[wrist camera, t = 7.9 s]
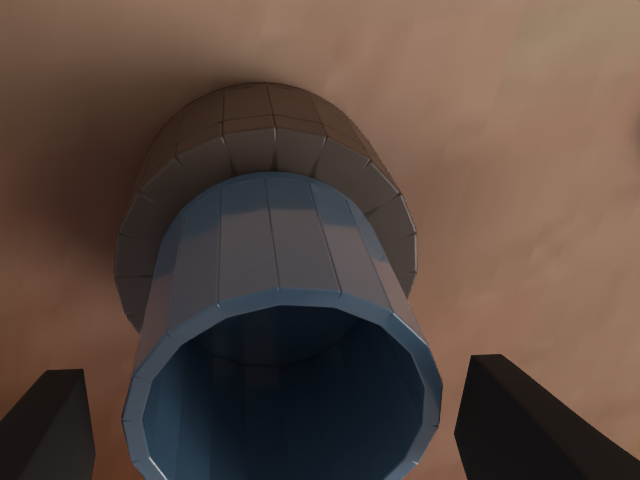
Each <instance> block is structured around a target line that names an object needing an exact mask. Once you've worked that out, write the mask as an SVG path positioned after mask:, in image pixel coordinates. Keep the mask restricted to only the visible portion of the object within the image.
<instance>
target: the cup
mask: <svg viewBox="0 0 640 480" xmlns="http://www.w3.org/2000/svg"><path fill="white" fill-rule="evenodd" d="M442 390H443V384H442V379H441V377H440V374H439V371H438V369H437V366H436V363H435V361H434V358H433V356H432V353H431V350H430V348H429V345H428V343H427V341H426V339H425V337H424V335H423V332H422V330H421V328H420V326H419V324H418V322H417V320H416V318H415V315H414V313H413V311H412V309H411V307H410V305H409V303H408V301H407V299H406V296H405V294H404V292H403V290H402V288H401V286H400V284H399V282H398V279H397V277H396V275H395V273H394V271H393V269H392V267H391V265H390V262H389V260H388V258H387V256H386V254H385V252H384V250H383V248H382V246H381V243H380V241H379V239H378V237H377V235H376V233H375V231H374V229H373V227H372V225H371V224H370V223H369V221H368V220H367V218H366V217H365V215H364V214H363V213H362V211H361V210H360V209H359V208H358V207H357V205H356V204H355V203H354V202H352V201H351V200H350V199H349V198H348V197H347V196H346V195H344V194H343V193H341V192H340V191H338V190H337V189H335V188H334V187H332V186H330V185H328V184H326V183H324V182H322V181H320V180H317V179H314V178H311V177H308V176H305V175H300V174H295V173H290V172H277V171H269V172H256V173H250V174H244V175H240V176H237V177H233V178H230V179H227V180H225V181H222V182H220V183H218V184H216V185H213V186H211V187H210V188H208V189H207V190H205V191H203V192H202V193H200V194H199V195H197V196H196V197H195V198H194V199H192V200H191V201H190V202H189V203H187V204H186V205H185V207H184V208H183V209H182V210H181V211H180V212H179V213H178V214H177V215H176V217H175V218H174V219H173V221H172V222H171V224H170V225H169V227H168V229H167V231H166V233H165V235H164V237H163V239H162V241H161V244H160V247H159V251H158V255H157V259H156V263H155V268H154V272H153V276H152V280H151V285H150V289H149V294H148V298H147V303H146V307H145V312H144V316H143V321H142V325H141V330H140V335H139V339H138V344H137V348H136V353H135V357H134V362H133V366H132V371H131V375H130V380H129V385H128V389H127V394H126V398H125V403H124V407H123V412H122V416H121V418H122V420H121V421H122V426H123V430H124V434H125V438H126V442H127V447H128V451H129V455H130V459H131V461H132V463H133V465H134V466H135V467H136V468H137V469H138V471H139V472H140V473H141V474H142V476H143V477H144V478H145V479H146V480H401V479H402V478H403V477H404V476H406V475H407V474H408V473H409V472H410V471H411V470H412V469H413V468H414V467H415V466H416V465H417V464H418V462H420V460H421V458H422V456H423V454H424V453H425V451H426V449H427V447H428V445H429V443H430V441H431V440H432V438H433V436H434V434H435V432H436V430H437V429H438V425H439V422H440V411H441V400H442Z"/></svg>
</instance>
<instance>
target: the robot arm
mask: <svg viewBox="0 0 640 480" xmlns="http://www.w3.org/2000/svg"><path fill="white" fill-rule="evenodd" d="M454 436H455V439H456V443H457V446H458V450H459V453H460V457H461V460H462V464H463V467H464V470H465V473H466V476H467V479H468V480H640V461H639V460H638V459H636V458H635V457H633V456H632V455H631V454H629V453H628V452H626V451H625V450H624V449H622V448H621V447H619V446H618V445H617V444H615V443H614V442H612V441H611V440H610V439H608V438H607V437H606V436H604V435H603V434H602V433H600V432H599V431H598V430H596V429H595V428H594V427H593V426H591V425H590V424H589V423H587V422H586V421H585V420H583V419H582V418H581V417H580V416H578V415H577V414H576V413H575V412H573V411H572V410H571V409H569V408H568V407H567V406H566V405H564V404H563V403H562V402H561V401H559V400H558V399H557V398H556V397H554V396H553V395H552V394H551V393H550V392H548V391H547V390H546V389H545V388H543V387H542V386H541V385H540V384H538V383H537V382H536V381H535V380H534V379H532V378H531V377H530V376H529V375H527V374H526V373H525V372H524V371H522V370H521V369H520V368H519V367H517V366H516V365H515V364H513V363H512V362H511V361H510V360H508V359H507V358H506V357H504V356H503V355H501V354H491V355H471V359H470V363H469V368H468V372H467V377H466V381H465V386H464V390H463V395H462V399H461V404H460V408H459V413H458V417H457V422H456V426H455V431H454ZM95 454H96V453H95V446H94V439H93V432H92V426H91V419H90V412H89V405H88V398H87V392H86V385H85V378H84V371H83V369H68V370H47V371H46V372H45V373H43V374H42V375H41V376H40V377H39V379H38V380H37V381H36V382H35V383H34V384H33V385H32V386H31V387H30V389H29V390H28V391H27V392H26V393H25V394H24V395H23V397H22V398H21V399H20V400H19V401H18V402H17V403H16V404H15V406H14V407H13V408H12V409H11V410H10V411H9V412H8V413H7V414H6V416H5V417H4V418H3V419H2V420H1V421H0V480H91V479H92V473H93V467H94V461H95Z"/></svg>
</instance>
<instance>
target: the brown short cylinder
mask: <svg viewBox="0 0 640 480" xmlns="http://www.w3.org/2000/svg"><path fill="white" fill-rule="evenodd" d="M269 171H277V172H290V173H295V174H300V175H305V176H308V177H311V178H314V179H317V180H320V181H322V182H324V183H326V184H328V185H330V186H332V187H334V188H335V189H337V190H338V191H340V192H341V193H343V194H344V195H346V196H347V197H348V198H349V199H350V200H351V201H352V202H354V203H355V204H356V205H357V207H358V208H359V209H360V210H361V211H362V213H363V214H364V215H365V217H366V218H367V220H368V221H369V223H370V224H371V225H372V227H373V229H374V231H375V233H376V235H377V237H378V239H379V241H380V243H381V246H382V248H383V250H384V252H385V254H386V256H387V258H388V260H389V262H390V265H391V267H392V269H393V271H394V273H395V275H396V277H397V279H398V282H399V284H400V286H401V288H402V290H403V292H404V294H405V296H406V299H407V301H408V299H409V296H410V293H411V290H412V287H413V284H414V281H415V278H416V275H417V272H416V271H417V233H416V227H415V225H414V222H413V220H412V217H411V215H410V212H409V210H408V207H407V205H406V202H405V200H404V197H403V194H402V193H401V191H400V190H399V188H398V187H397V185H396V183H395V182H394V180H393V179H392V177H391V175H390V174H389V172H388V171H387V169H386V168H385V166H384V164H383V163H382V161H381V160H380V158H379V157H378V155H377V153H376V152H375V150H374V149H373V147H372V146H371V144H370V142H369V141H368V140H367V139H366V137H365V136H364V135H363V134H362V133H361V132H360V130H359V129H358V128H357V126H356V125H355V124H354V123H353V122H352V121H351V120H350V119H349V118H348V117H347V116H346V115H345V114H344V113H343V112H342V111H341V110H339V109H338V108H336V107H335V106H334V105H332V104H331V103H330V102H328V101H326V100H324V99H322V98H321V97H319V96H317V95H315V94H312V93H310V92H307V91H304V90H302V89H299V88H295V87H291V86H286V85H281V84H271V83H248V84H242V85H236V86H230V87H227V88H224V89H221V90H217V91H214V92H212V93H210V94H208V95H205V96H203V97H201V98H199V99H197V100H196V101H194V102H192V103H191V104H189V105H188V106H186V107H185V108H183V109H182V110H181V111H180V112H179V113H177V114H176V115H175V116H174V117H173V118H172V119H171V120H170V121H169V122H168V123H167V124H166V125H165V126H164V128H163V129H162V130H161V131H160V133H159V134H158V136H157V137H156V139H155V140H154V142H153V143H152V145H151V147H150V149H149V151H148V153H147V156H146V158H145V160H144V162H143V164H142V166H141V169H140V171H139V173H138V176H137V179H136V181H135V184H134V187H133V189H132V192H131V195H130V198H129V200H128V203H127V206H126V209H125V211H124V214H123V217H122V220H121V223H120V225H119V228H118V232H117V236H116V248H115V260H114V275H115V276H114V279H115V283H116V286H117V289H118V293H119V296H120V299H121V303H122V306H123V309H124V313H125V314H126V315H127V318H128V320H129V321H130V322H131V324H132V325H133V326H134V328H135V329H136V330H137V332H138V333H139V334H140V330H141V325H142V321H143V316H144V312H145V307H146V303H147V298H148V294H149V289H150V285H151V280H152V276H153V272H154V268H155V263H156V259H157V255H158V251H159V247H160V244H161V241H162V239H163V237H164V235H165V233H166V231H167V229H168V227H169V225H170V224H171V222H172V221H173V219H174V218H175V217H176V215H177V214H178V213H179V212H180V211H181V210H182V209H183V208H184V207H185V205H186V204H187V203H189V202H190V201H191V200H192V199H194V198H195V197H196V196H197V195H199V194H200V193H202V192H203V191H205V190H207V189H208V188H210V187H211V186H213V185H216V184H218V183H220V182H222V181H225V180H227V179H230V178H233V177H237V176H240V175H244V174H250V173H256V172H269Z"/></svg>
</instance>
